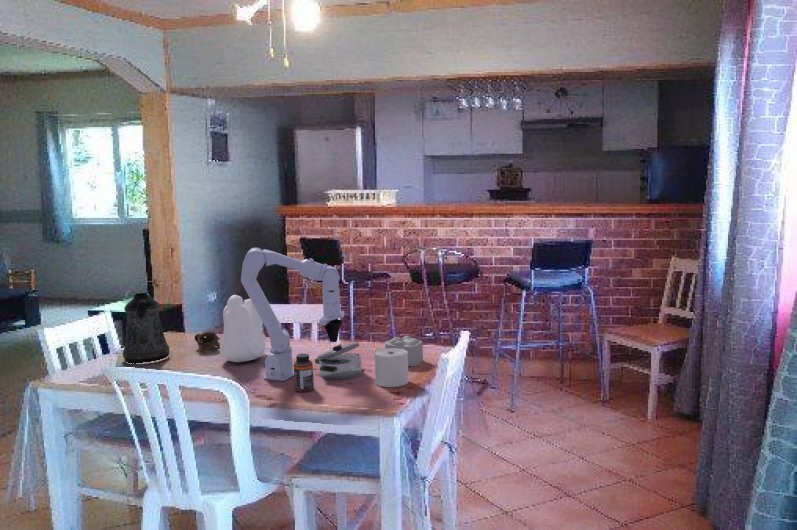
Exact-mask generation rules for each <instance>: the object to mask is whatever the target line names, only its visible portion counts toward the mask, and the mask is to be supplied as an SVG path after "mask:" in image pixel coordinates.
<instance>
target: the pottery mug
mask: <svg viewBox="0 0 797 530" xmlns="http://www.w3.org/2000/svg"><path fill="white" fill-rule="evenodd" d="M194 340H195V342H196V343H197V346H198V352H199V351H200V352H202V353H203V352H205V351H208V350H212V349H213V348H215V347H216V346H218V347H217V348H220V347H221V345H220V344H221V343H220V342H219V340H221V338H220V337H219V336H218V335H217V333H216V332H213V331H204V332H201V333H197V334H195V335H194ZM219 346H220V347H219ZM200 352H199V353H200Z"/></svg>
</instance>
